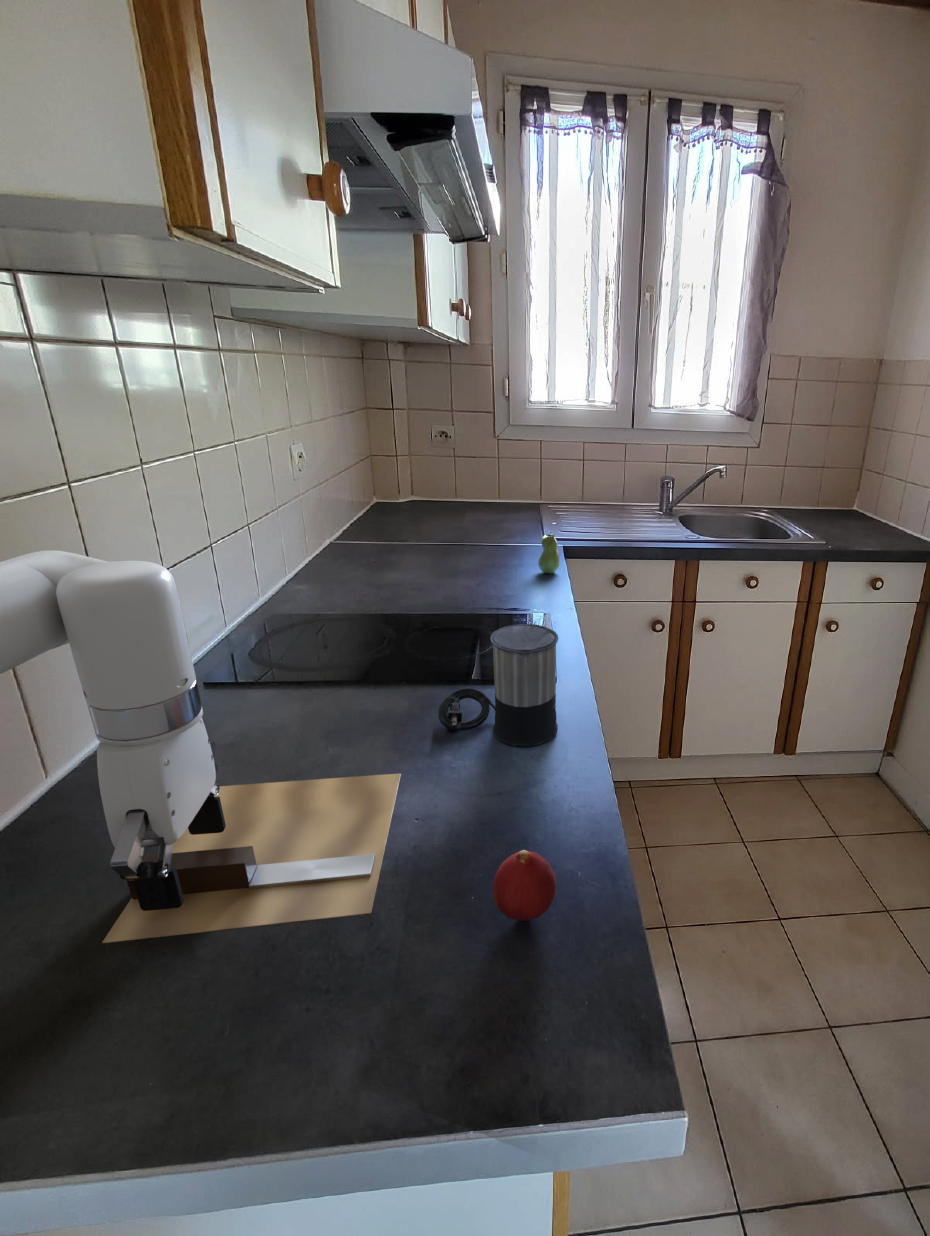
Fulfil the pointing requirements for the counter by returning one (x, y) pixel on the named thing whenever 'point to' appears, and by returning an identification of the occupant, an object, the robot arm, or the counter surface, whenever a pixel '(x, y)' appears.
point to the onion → (524, 886)
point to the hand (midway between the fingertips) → (187, 866)
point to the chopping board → (281, 855)
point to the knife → (255, 870)
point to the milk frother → (515, 688)
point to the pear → (549, 555)
